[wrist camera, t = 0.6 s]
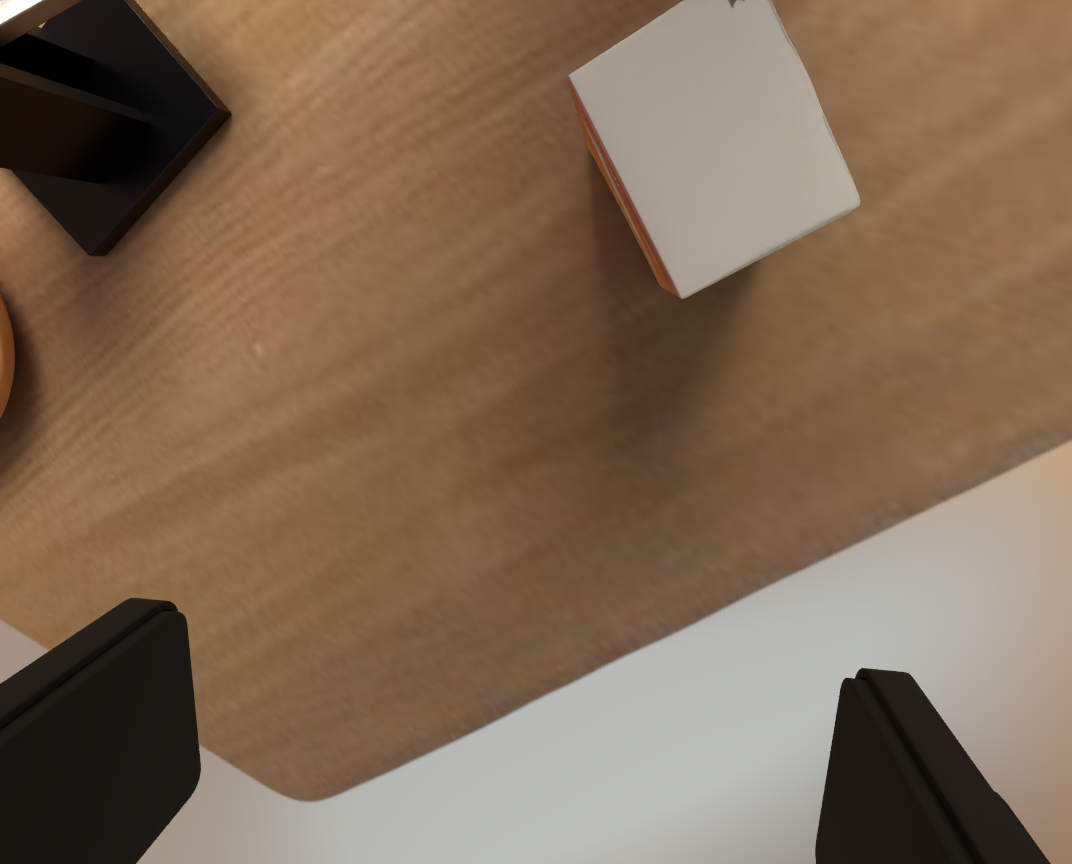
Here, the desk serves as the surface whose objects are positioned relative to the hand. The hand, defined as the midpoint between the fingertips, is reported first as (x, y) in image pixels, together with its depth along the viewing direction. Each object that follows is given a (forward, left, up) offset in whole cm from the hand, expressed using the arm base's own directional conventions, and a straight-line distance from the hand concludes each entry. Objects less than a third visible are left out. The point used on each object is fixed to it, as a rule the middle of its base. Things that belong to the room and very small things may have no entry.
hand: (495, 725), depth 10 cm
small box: (-10, +4, -28) cm, 30 cm away
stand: (-14, -26, -28) cm, 40 cm away
